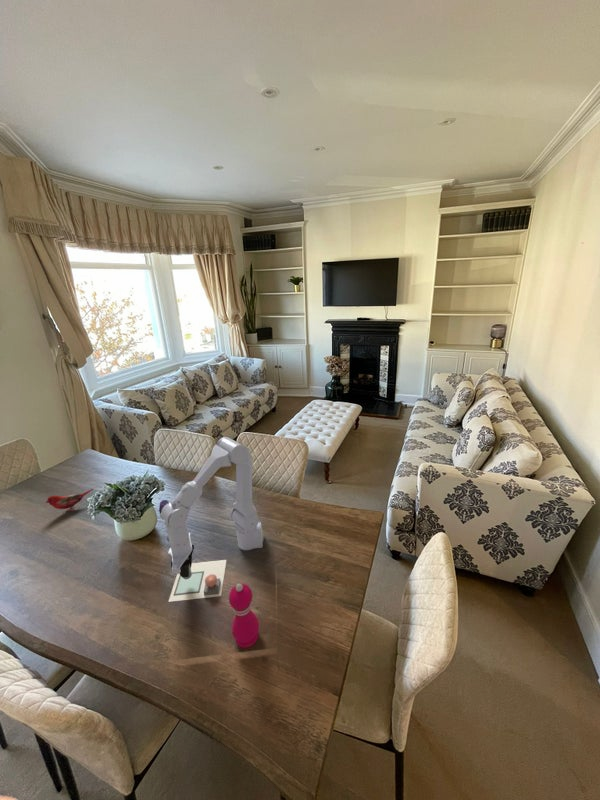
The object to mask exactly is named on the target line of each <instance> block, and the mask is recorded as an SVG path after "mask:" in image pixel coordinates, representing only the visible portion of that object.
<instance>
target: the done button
mask: <svg viewBox="0 0 600 800" xmlns="http://www.w3.org/2000/svg"><path fill="white" fill-rule="evenodd" d="M216 583H217V577H216V575H214V574H211V575H209V576H207V577H206V579H205V584H206V586H207V587H213V586H214V585H215V584H216Z"/></svg>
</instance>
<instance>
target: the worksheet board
mask: <svg viewBox="0 0 600 800" xmlns="http://www.w3.org/2000/svg"><path fill="white" fill-rule="evenodd" d="M226 567H227V559H221V560H212V561H209V560H208V561H202V562H192V565H191V572H192V576H191V577H190V578H189V579H183V578H182V577H181V575H180V574H176V577H175V580H174V583H173V586H172V588H171V589H172V590H171V593H170V595H169V598H168V603H172V602H179V601H181V602H182V601H188V600H196V599H197V600H198V599H206V598H207V599H208V598H213V597H214V598H215V597H221V596H222V591H223V586H224V585H223V584H224V578H225V571H226ZM211 574H214V575H216V577H217V583H216V584H215V585H214V586H213V587H207V586H206V584H205V579H206V577H207V576H209V575H211Z"/></svg>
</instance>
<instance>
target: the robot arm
mask: <svg viewBox="0 0 600 800" xmlns="http://www.w3.org/2000/svg"><path fill="white" fill-rule="evenodd" d="M232 463H233V464H235V467H236V469H235V470H236V471H235V473H236V474H235V477H236V478H235V480H236V481H235V485H236V486H235V488H236V491H235V493H236V494H235V495H236V497H235V500H236V501H235V502H233V504H232V508H231V511H230V519H231V520H232V521H234V524H235V525H234V526H235V534H236V538H237V546H238V548H239V549H240V550H241V551H250V550H253V549H258V548H259V549H260V548H261V549H262V548H263V543H264V539H265V538H264V534H263V533H264V532H263V525H262V522H261V521H260V518H259V516H258V514H257V513H258V511H257V509H256V507H255V505H254V503H253V456H252V453H251V452H250V448H249V447H248V446H246V445H244V444H241V443H239V442H237V441H236V440H234V439H233V438H230V437H228V436H224V437H221V438H220V439H218V441H217V442H216V443H215V445H214V446H213V447H212V451H211V454H210V456H209V457H208V459H207V460H206V462H205V463H204V464H203V466H202V467H201V469H200V470H199V472H198V473H197V474H196V476H195V477H194V479H193V480H191V481H187V482H186V483H185V484H184V485H183V486H181V488H180V491H179V492H178V493H177V495H175V497H174V498H173V499H172V500H171V502H169V503H168V504H166V505H165V506H164V507H163V509H162V511H161V514H160V513H159V517H160V518H161V519H162V520H163V522H164V524H165V528H166V534H167V539H169V540H168V542H169V545H170V548H169V550H168V553H167V554H168V555H169V556H171V564H170V566H171V568H172V569H171V571H172V572H171V573H172V575H177V574H180V575H181V577H182V578H183V577H188V576H189V564H190V568H191V565H192V563H193V552H194V549H195V545H194V544H192V540H191V539H192V534H191V532H189V531H188V526H187V525H188V524H187V521H188V517H189V513H190V511H191V509H192V507H193V506H194V505H195V503H196V502H197V500H199V498H200V497H201V495H202V494H203V487H204V486H205V485H206V484H207V483H208V482H209V480H210V479H211V478H212V477H213V476H214V474H215V473H217V471H218V470H219V469H220V468H226V467H232ZM187 557H189V559H187ZM186 559H187V560H186Z"/></svg>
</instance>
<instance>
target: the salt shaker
mask: <svg viewBox="0 0 600 800" xmlns="http://www.w3.org/2000/svg"><path fill="white" fill-rule="evenodd" d="M187 559H189V557H187ZM187 559H186V560H187ZM191 576H192V572H191V568H190V564H189V576H188V577H183V579H189V578H190V577H191Z"/></svg>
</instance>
